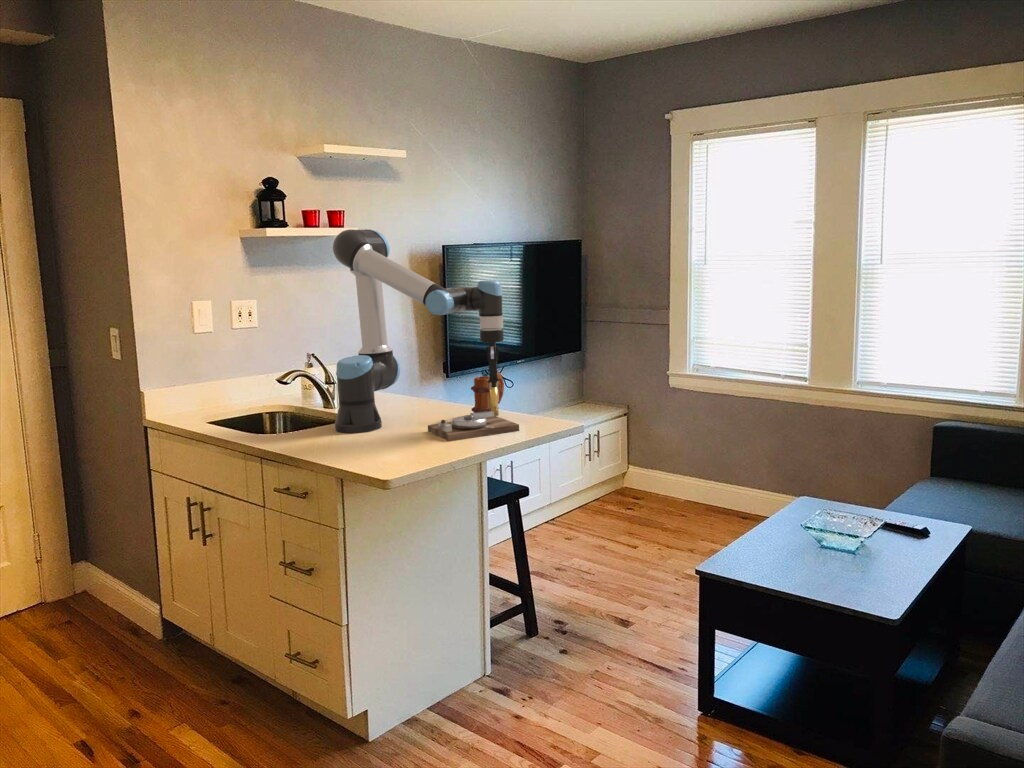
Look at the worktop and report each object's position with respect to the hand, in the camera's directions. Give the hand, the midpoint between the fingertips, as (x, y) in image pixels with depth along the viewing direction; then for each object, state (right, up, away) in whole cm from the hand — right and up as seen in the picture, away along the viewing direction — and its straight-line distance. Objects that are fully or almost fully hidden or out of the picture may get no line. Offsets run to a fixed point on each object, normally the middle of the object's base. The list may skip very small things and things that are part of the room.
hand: (494, 401), depth 268 cm
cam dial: (-6, -7, -7) cm, 11 cm away
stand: (-7, -9, -5) cm, 13 cm away
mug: (-2, -6, +15) cm, 17 cm away
